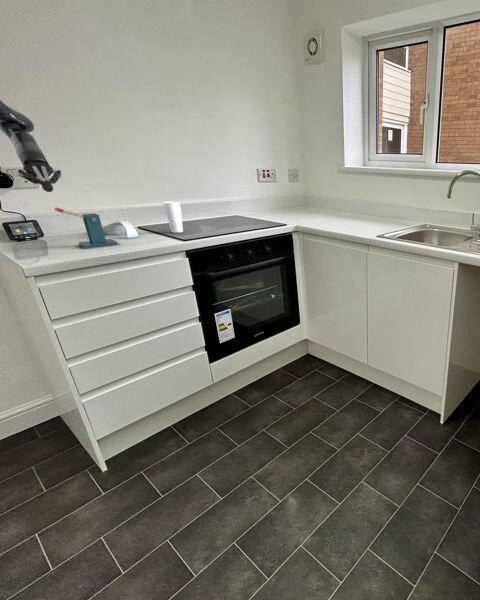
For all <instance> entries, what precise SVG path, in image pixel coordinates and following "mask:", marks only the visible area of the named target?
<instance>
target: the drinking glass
mask: <svg viewBox="0 0 480 600" xmlns="http://www.w3.org/2000/svg"><path fill="white" fill-rule="evenodd" d="M163 207H164V213H165V215H166V218H167V222H168V225H169V228H170V232H171V233H172V234H181V233H183V232H184V226H183V217H182V209H181V203H180V201H164V202H163Z"/></svg>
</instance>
